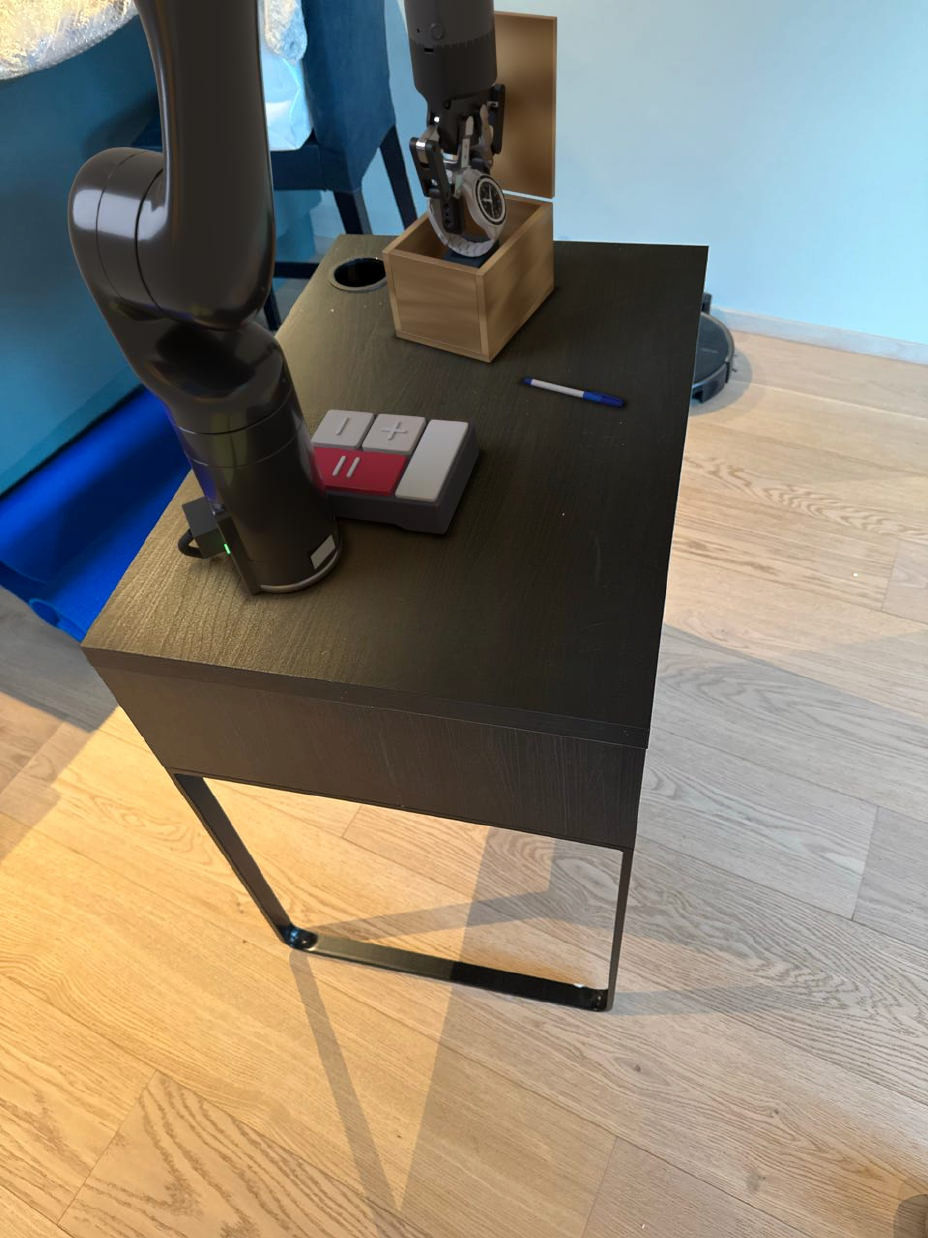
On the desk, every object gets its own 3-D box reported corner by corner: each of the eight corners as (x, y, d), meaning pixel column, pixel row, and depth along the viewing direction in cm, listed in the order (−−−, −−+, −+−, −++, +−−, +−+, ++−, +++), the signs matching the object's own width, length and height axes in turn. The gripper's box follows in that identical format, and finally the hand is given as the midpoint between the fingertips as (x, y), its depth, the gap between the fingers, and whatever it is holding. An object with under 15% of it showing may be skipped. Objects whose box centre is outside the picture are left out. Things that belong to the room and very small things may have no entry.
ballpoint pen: (624, 404, 82) (625, 395, 81) (621, 409, 82) (621, 401, 81) (526, 381, 86) (526, 373, 85) (522, 386, 85) (522, 378, 84)
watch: (497, 297, 87) (489, 192, 78) (428, 285, 90) (413, 182, 81) (517, 268, 90) (512, 163, 81) (450, 257, 93) (438, 154, 84)
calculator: (325, 403, 80) (474, 415, 76) (337, 438, 84) (480, 451, 79) (278, 481, 74) (437, 499, 70) (292, 516, 77) (445, 535, 73)
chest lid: (553, 19, 74) (578, 1, 77) (440, 7, 79) (467, -9, 81) (551, 199, 87) (572, 179, 89) (454, 180, 91) (477, 162, 94)
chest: (489, 362, 88) (482, 274, 80) (396, 336, 92) (381, 250, 84) (553, 289, 95) (553, 201, 87) (464, 268, 99) (456, 183, 91)
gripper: (456, -10, 76) (471, 181, 90) (367, 50, 69) (399, 247, 83) (528, -3, 74) (533, 192, 87) (444, 60, 67) (464, 262, 80)
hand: (468, 218), depth 85 cm, fingers closed on watch, 4 cm apart
